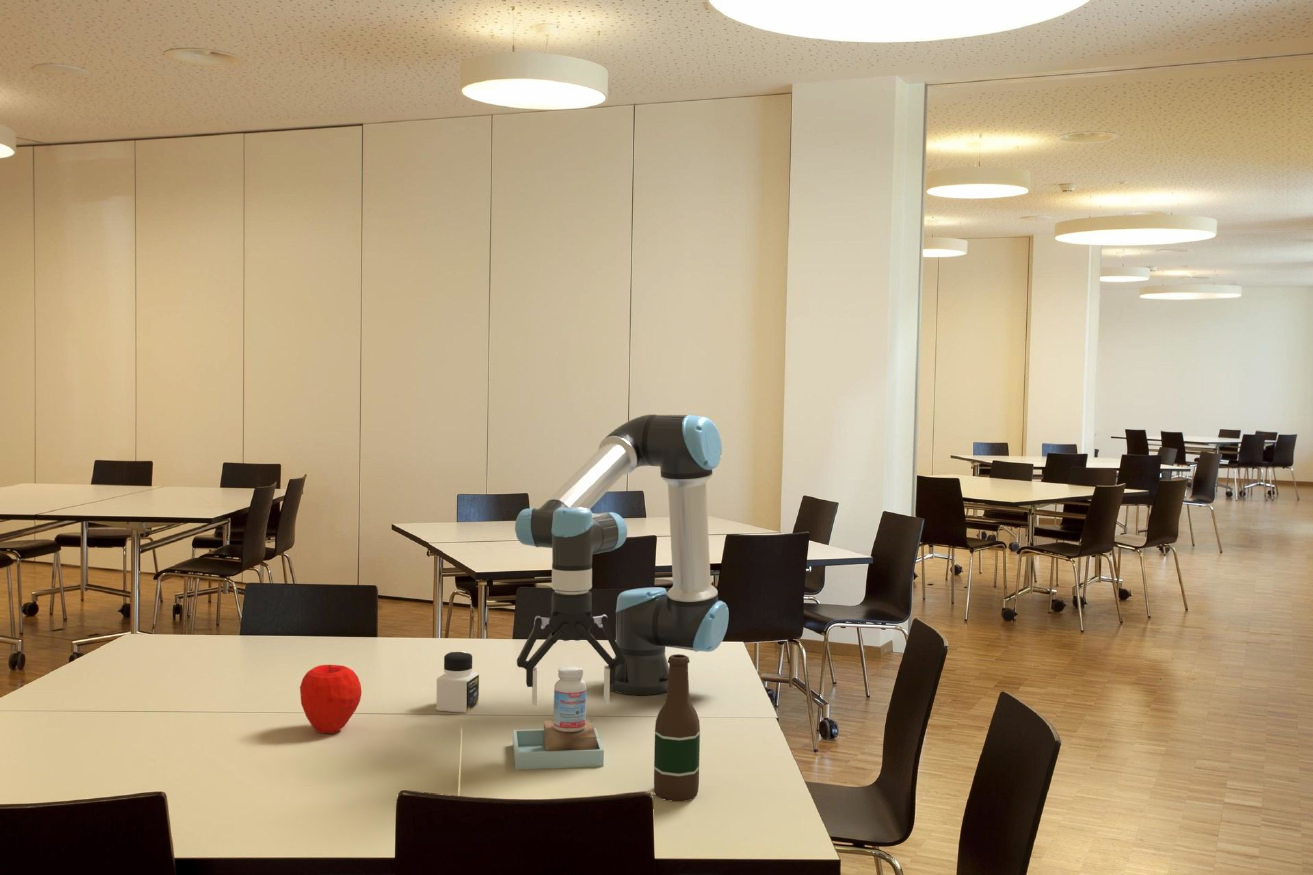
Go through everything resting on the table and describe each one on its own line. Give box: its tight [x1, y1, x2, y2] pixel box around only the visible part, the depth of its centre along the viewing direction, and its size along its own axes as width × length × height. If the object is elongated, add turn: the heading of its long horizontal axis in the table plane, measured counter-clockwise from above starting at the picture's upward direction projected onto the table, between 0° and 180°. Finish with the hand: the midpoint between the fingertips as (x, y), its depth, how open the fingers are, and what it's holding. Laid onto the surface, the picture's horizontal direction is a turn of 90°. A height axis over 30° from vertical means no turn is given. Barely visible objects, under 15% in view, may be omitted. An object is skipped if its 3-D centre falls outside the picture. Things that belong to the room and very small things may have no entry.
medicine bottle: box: [435, 650, 480, 714], centre depth 240 cm, size 7×7×12 cm
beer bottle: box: [653, 653, 701, 802], centre depth 189 cm, size 8×8×24 cm
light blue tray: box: [512, 727, 605, 770], centre depth 207 cm, size 16×14×4 cm
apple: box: [299, 664, 363, 735], centre depth 222 cm, size 12×12×13 cm
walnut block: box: [543, 718, 597, 751], centre depth 208 cm, size 9×11×5 cm
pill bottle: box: [553, 666, 587, 732], centre depth 207 cm, size 6×6×11 cm
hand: (570, 702), depth 208 cm, fingers open, 13 cm apart
